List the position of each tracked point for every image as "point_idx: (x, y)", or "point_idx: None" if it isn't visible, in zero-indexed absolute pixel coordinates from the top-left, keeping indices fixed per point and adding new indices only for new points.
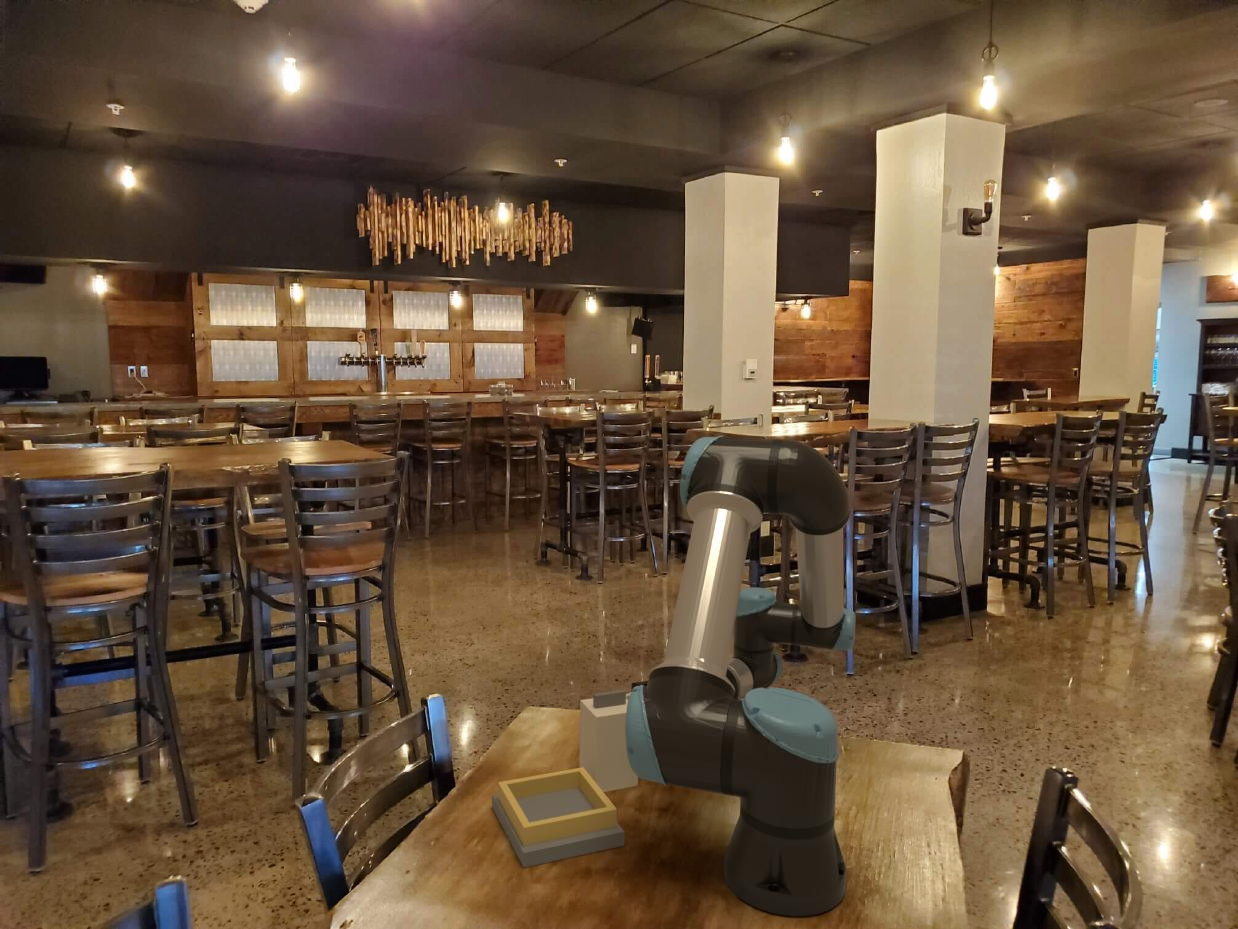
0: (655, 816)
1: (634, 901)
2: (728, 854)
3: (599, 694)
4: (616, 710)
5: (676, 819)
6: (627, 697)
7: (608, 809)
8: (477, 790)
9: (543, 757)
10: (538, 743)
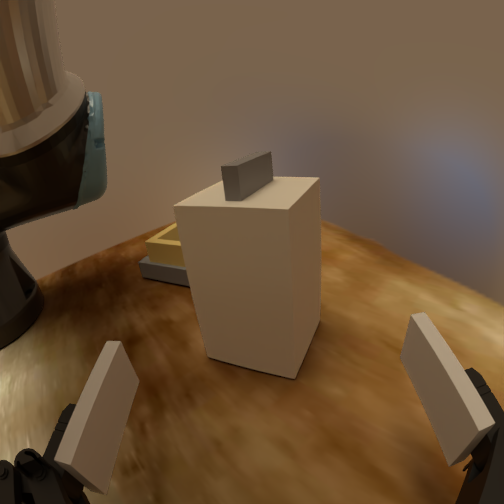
0: (136, 324)
1: (106, 256)
2: (31, 275)
3: (258, 153)
4: (218, 189)
5: (107, 334)
6: (432, 354)
7: (153, 238)
8: (353, 244)
9: (407, 308)
10: (460, 318)
